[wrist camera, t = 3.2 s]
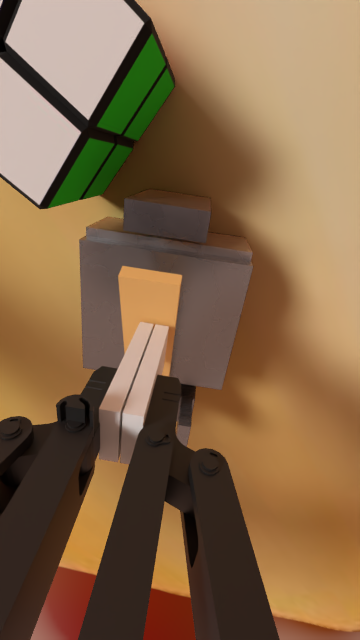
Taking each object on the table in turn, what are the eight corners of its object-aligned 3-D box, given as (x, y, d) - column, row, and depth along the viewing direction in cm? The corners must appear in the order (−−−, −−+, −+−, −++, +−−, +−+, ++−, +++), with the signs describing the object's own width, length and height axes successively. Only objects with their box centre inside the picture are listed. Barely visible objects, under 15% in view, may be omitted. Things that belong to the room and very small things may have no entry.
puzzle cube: (57, -48, 18) (-83, -247, 9) (178, 82, 21) (156, 20, 12) (-7, 103, 22) (-147, 62, 13) (101, 197, 25) (42, 214, 16)
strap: (122, 405, 27) (117, 422, 26) (105, 258, 15) (94, 278, 14) (175, 414, 27) (173, 431, 26) (203, 273, 15) (200, 294, 14)
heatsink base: (105, 369, 33) (72, 433, 25) (107, 182, 24) (58, 190, 16) (210, 386, 33) (211, 455, 25) (253, 204, 24) (275, 223, 16)
